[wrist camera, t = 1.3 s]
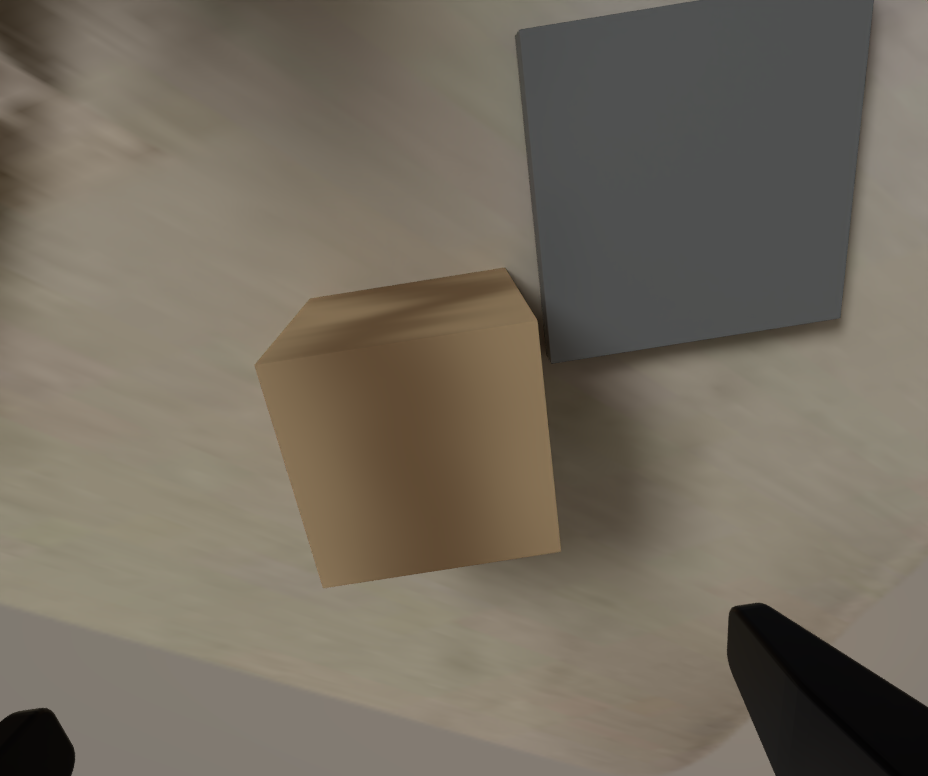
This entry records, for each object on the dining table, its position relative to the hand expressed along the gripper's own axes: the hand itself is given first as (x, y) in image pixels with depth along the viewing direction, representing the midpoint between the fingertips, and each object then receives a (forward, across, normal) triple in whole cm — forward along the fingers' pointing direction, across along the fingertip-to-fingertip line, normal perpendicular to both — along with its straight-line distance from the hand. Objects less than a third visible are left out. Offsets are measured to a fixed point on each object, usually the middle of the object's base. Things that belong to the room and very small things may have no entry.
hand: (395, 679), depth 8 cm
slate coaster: (+12, -9, -4) cm, 15 cm away
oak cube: (+12, 0, 0) cm, 12 cm away
